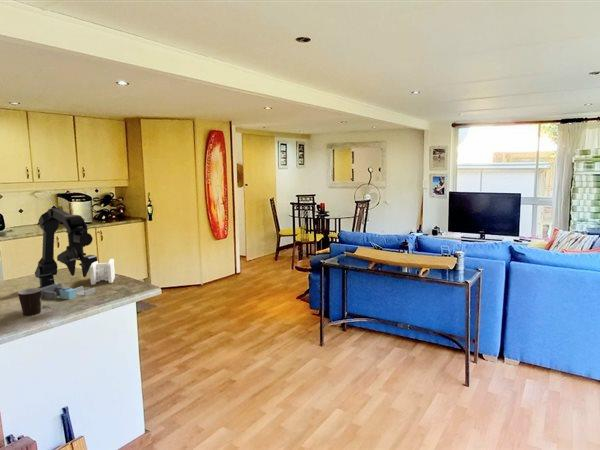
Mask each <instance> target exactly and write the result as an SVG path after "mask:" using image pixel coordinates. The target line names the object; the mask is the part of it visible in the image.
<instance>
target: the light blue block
mask: <svg viewBox="0 0 600 450" xmlns="http://www.w3.org/2000/svg"><path fill="white" fill-rule="evenodd" d="M59 291H60V294H59V298H60V299H63V300H72V299H75V298H77V294H76V289H75V288H72V287H70V286H64V288H62V289H61V290H59Z"/></svg>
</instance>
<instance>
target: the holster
mask: <svg viewBox="0 0 600 450" xmlns="http://www.w3.org/2000/svg"><path fill="white" fill-rule="evenodd" d="M74 289H76V295H80V296H88V295H91V294H94V293H96V287H92V288H89V289H87V290H84V286H83V285H81V286H78V287H75V288H74Z"/></svg>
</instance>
